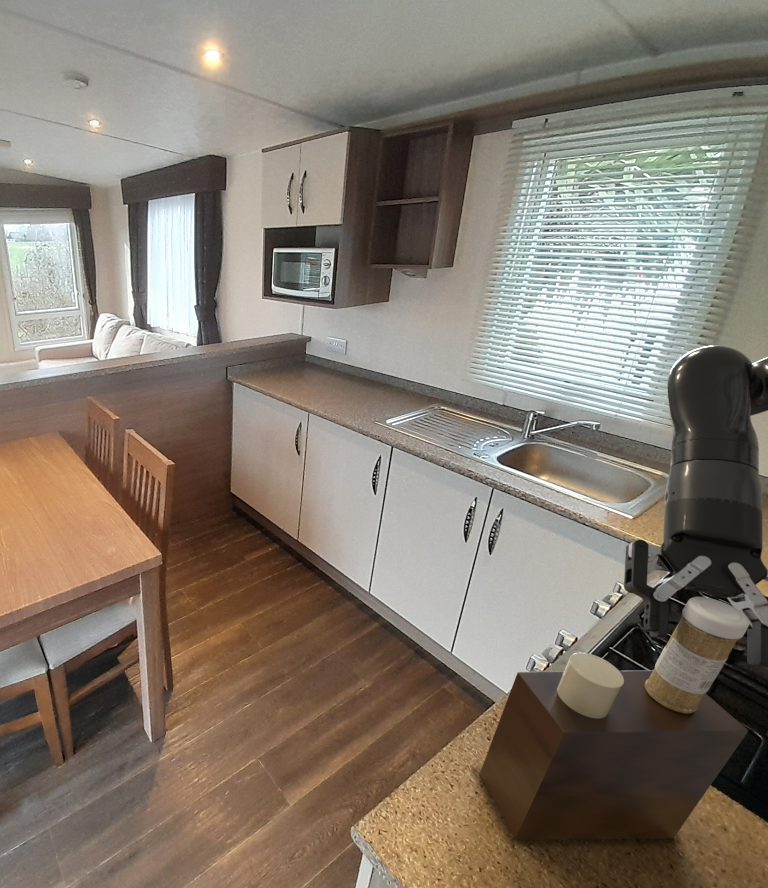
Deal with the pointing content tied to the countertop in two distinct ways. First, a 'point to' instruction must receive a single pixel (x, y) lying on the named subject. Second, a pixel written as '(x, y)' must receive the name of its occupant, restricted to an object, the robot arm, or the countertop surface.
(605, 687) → the cream squat cylinder
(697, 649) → the sprinkles bottle
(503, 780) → the block
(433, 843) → the countertop surface
